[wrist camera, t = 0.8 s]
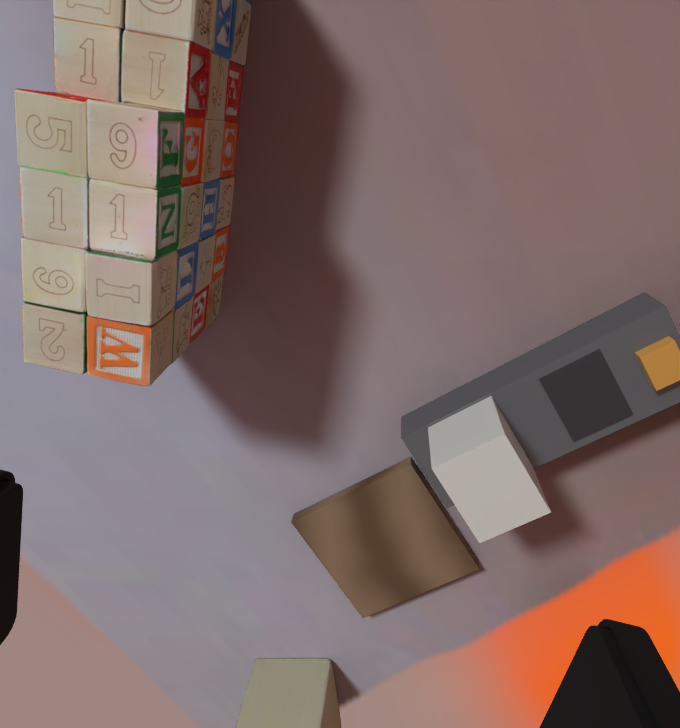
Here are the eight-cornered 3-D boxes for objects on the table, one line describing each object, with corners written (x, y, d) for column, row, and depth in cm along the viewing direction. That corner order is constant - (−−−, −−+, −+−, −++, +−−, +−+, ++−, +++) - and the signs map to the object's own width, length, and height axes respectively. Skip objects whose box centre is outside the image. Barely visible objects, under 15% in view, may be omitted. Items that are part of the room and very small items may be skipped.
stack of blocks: (146, -80, 32) (1, -206, 20) (260, -60, 31) (179, -175, 20) (130, 300, 39) (19, 366, 28) (221, 318, 39) (147, 391, 28)
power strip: (644, 292, 36) (671, 309, 32) (682, 371, 37) (711, 396, 34) (401, 417, 40) (401, 443, 37) (444, 483, 42) (447, 515, 38)
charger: (486, 383, 38) (504, 434, 31) (526, 450, 39) (551, 512, 33) (426, 413, 39) (431, 468, 32) (466, 478, 40) (479, 543, 34)
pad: (410, 457, 41) (410, 464, 40) (477, 560, 44) (479, 569, 43) (293, 514, 44) (291, 522, 43) (363, 608, 47) (362, 618, 46)
